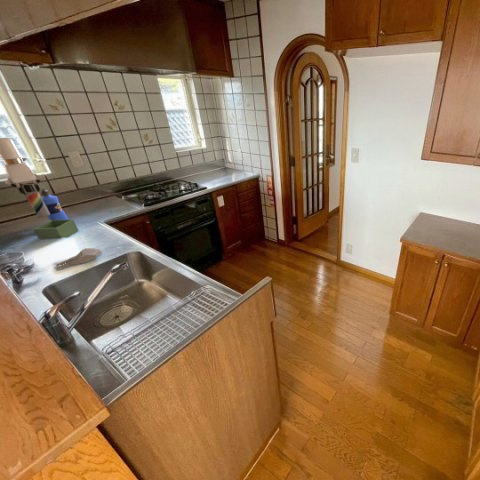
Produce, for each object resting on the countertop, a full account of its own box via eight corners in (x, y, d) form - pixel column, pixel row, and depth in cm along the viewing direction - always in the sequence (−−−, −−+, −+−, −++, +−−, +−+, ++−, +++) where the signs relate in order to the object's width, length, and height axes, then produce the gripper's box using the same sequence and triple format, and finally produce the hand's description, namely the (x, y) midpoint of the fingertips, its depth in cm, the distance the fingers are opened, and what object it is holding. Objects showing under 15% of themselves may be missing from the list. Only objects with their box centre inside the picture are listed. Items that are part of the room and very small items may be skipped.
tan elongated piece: (59, 267, 142) (53, 261, 139) (101, 249, 152) (96, 243, 149) (60, 275, 135) (53, 268, 133) (104, 256, 146) (98, 249, 143)
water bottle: (50, 227, 183) (30, 192, 171) (55, 221, 191) (37, 188, 179) (66, 224, 187) (48, 190, 175) (71, 219, 194) (54, 186, 182)
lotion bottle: (36, 216, 162) (18, 184, 152) (48, 213, 166) (31, 182, 156) (39, 218, 159) (20, 185, 149) (51, 214, 163) (34, 183, 153)
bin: (62, 240, 165) (56, 228, 161) (40, 241, 165) (33, 229, 161) (78, 230, 177) (72, 219, 173) (57, 231, 177) (51, 220, 173)
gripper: (33, 158, 155) (48, 187, 163) (-10, 163, 142) (9, 195, 151) (36, 159, 151) (52, 190, 159) (-8, 165, 138) (12, 197, 147)
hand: (31, 192), depth 155 cm, fingers closed on lotion bottle, 5 cm apart
